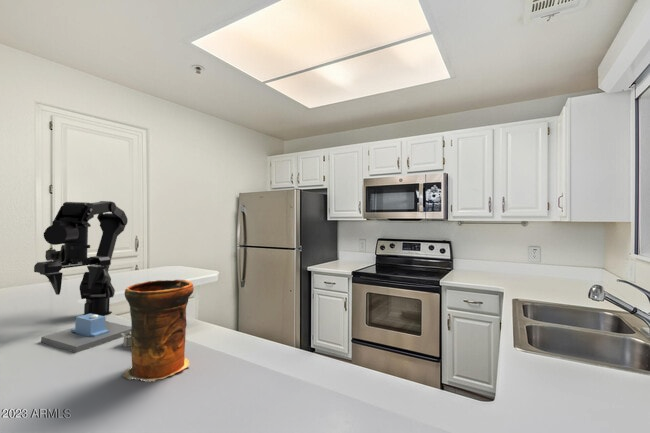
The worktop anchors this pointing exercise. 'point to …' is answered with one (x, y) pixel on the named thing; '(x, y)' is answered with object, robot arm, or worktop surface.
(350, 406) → the worktop surface
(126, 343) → the egg carton
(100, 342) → the chassis
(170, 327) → the vessel
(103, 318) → the servo
